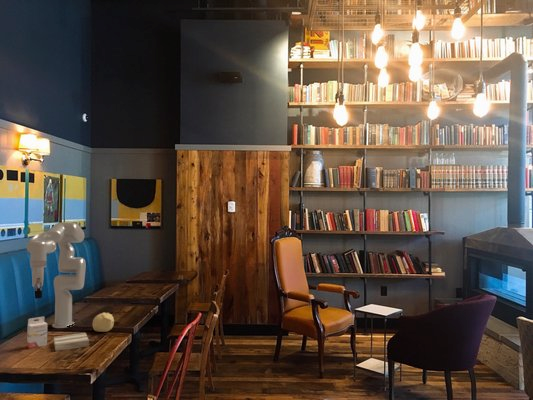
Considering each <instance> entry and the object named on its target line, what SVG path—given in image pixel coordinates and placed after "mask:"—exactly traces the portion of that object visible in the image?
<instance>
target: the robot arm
mask: <svg viewBox="0 0 533 400" xmlns="http://www.w3.org/2000/svg"><path fill="white" fill-rule="evenodd" d="M84 239H85V232H84V230H83V229H82V227H81V226H80V225H79V224H78V223H76V222H57V223H55V224H54V225H53V226H52V227H51V228H50V229H49V230H47V231H45V232H41V233H39V234H35V235H33V236H32V238H30V240H29V241H28V242H27V245H26V250H27V252H28V253H30V262H29V263H30V267H29V268H30V269H32V273H31V277H32V278H31V281H32V282H31V286H32V287H33V288H34V299H42V298H43V290H42V287H44V279H45V278H44V275H45V268H47V254H53V253H54V252H55V251H56V250H57V246H58V248H59V257H58V267H57V269H58V271H59V272H60V273H63V274H59V275H57V276H55V277H54V278H53V279H54V280H53V288H54V299H55V300H54V301H55V302H54V323H53V324H52V325H51V327H52V328H53V329H65V328H68V327H67V326H69V325H72V324H74V323H75V322H74V321H73V296H72V294H71V292H70V291H78V290H82V289H83V288H84V286H85V280H86V279H85V278H86V267H87V266H86V264H87V263H86V262H87V261H86V260H85V258H83V257H82V256H80V257H79V256H77V257H75V248H74V246H73V245H72V243H75V244H77V243H82V242H83V241H84ZM64 273H67V274H64ZM68 273H69V274H68ZM70 273H75V274H70ZM74 325H75V324H74Z"/></svg>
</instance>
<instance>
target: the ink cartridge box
mask: <svg viewBox="0 0 533 400" xmlns="http://www.w3.org/2000/svg"><path fill="white" fill-rule="evenodd" d="M26 329H27V334H26V335H27V339H26V341H27V342H26V347H27V348H28V349H35V348H40V347H45V346H48V323H47V322H45V316H38V317H32V318H28V319H27V328H26Z"/></svg>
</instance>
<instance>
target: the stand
mask: <svg viewBox="0 0 533 400" xmlns="http://www.w3.org/2000/svg"><path fill="white" fill-rule="evenodd" d="M53 346H54V350H55V352H60V351H67V350H72V349H79V348H86V347H90V339H89V338H88V334H87V333H86V332H80V333H73V334H65V335H60V336H58V335H57V336H53Z"/></svg>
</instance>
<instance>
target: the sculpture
mask: <svg viewBox="0 0 533 400" xmlns="http://www.w3.org/2000/svg"><path fill="white" fill-rule="evenodd" d="M114 324H115V319H114V316H113V314H111V313H110V312H102V313H99V314H97V315H95V317H94V318H93V320H92V328H93V330H94V331H95V332H100V333H101V332H102V333H104V332H109V331H110V330H113V327H114Z"/></svg>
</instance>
